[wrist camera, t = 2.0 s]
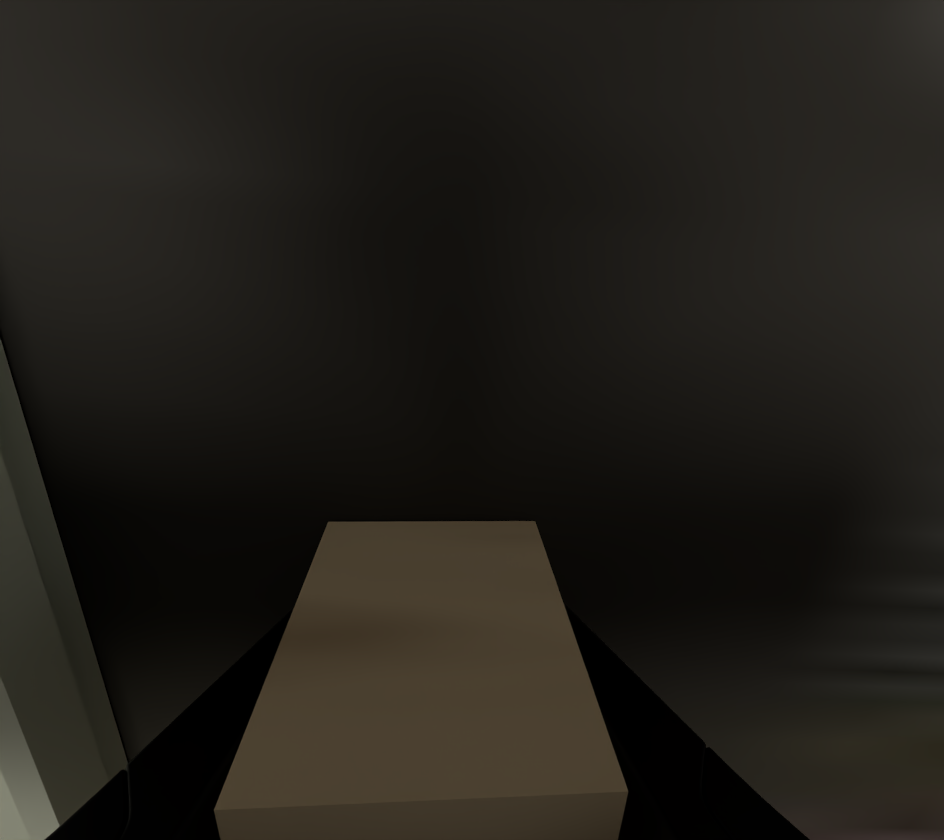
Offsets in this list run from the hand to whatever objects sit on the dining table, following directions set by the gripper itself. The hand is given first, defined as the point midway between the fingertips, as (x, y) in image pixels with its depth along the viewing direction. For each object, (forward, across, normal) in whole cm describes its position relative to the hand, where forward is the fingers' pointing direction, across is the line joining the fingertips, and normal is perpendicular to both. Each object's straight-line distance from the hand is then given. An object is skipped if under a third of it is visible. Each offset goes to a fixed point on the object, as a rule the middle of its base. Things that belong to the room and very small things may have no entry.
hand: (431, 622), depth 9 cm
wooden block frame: (+1, 0, +6) cm, 6 cm away
